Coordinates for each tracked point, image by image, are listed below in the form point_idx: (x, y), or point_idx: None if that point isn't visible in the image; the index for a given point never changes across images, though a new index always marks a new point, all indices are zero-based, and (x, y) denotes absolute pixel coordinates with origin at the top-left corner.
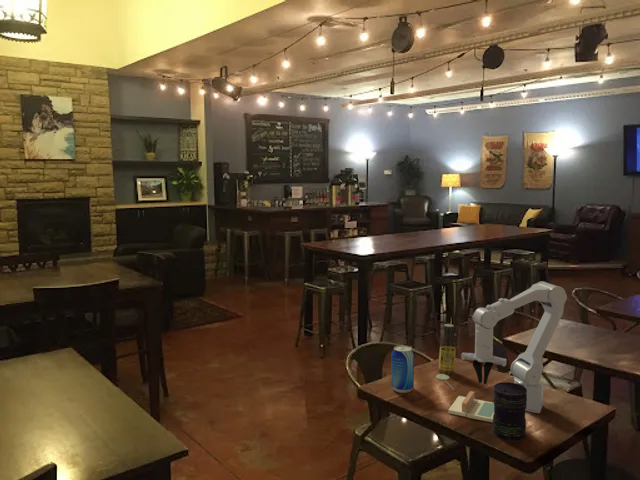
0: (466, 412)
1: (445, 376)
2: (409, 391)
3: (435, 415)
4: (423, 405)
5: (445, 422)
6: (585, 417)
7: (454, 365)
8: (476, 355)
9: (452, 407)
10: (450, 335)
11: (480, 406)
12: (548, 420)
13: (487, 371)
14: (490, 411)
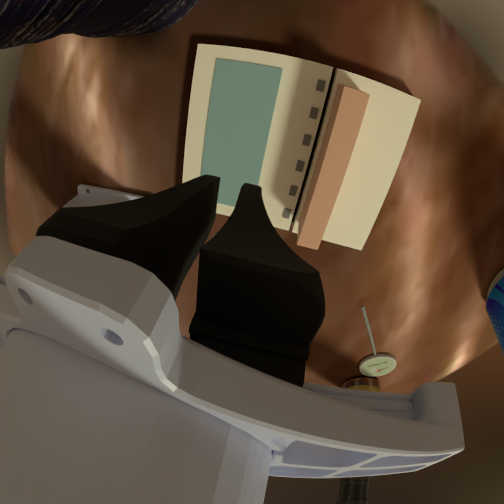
0: (336, 79)
1: (370, 368)
2: (501, 271)
3: (462, 78)
4: (493, 171)
5: (421, 13)
6: (15, 199)
7: None
8: (217, 476)
9: (402, 127)
10: (351, 483)
11: (269, 162)
12: (56, 148)
13: (124, 207)
14: (221, 117)
